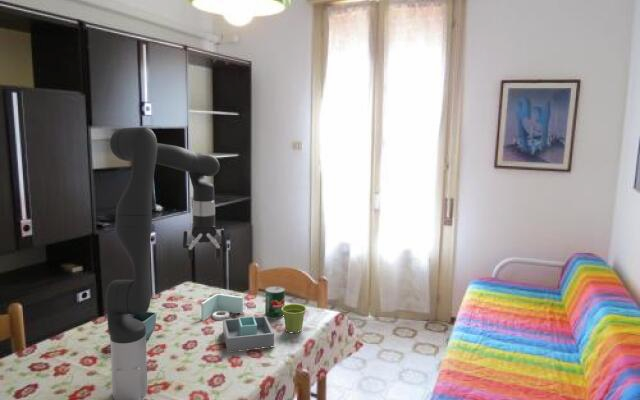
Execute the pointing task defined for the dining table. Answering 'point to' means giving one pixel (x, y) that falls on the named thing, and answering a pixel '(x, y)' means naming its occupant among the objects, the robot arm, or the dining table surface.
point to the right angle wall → (221, 306)
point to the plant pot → (293, 317)
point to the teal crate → (247, 326)
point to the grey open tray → (250, 341)
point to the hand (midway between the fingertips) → (204, 258)
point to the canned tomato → (274, 301)
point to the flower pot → (147, 321)
